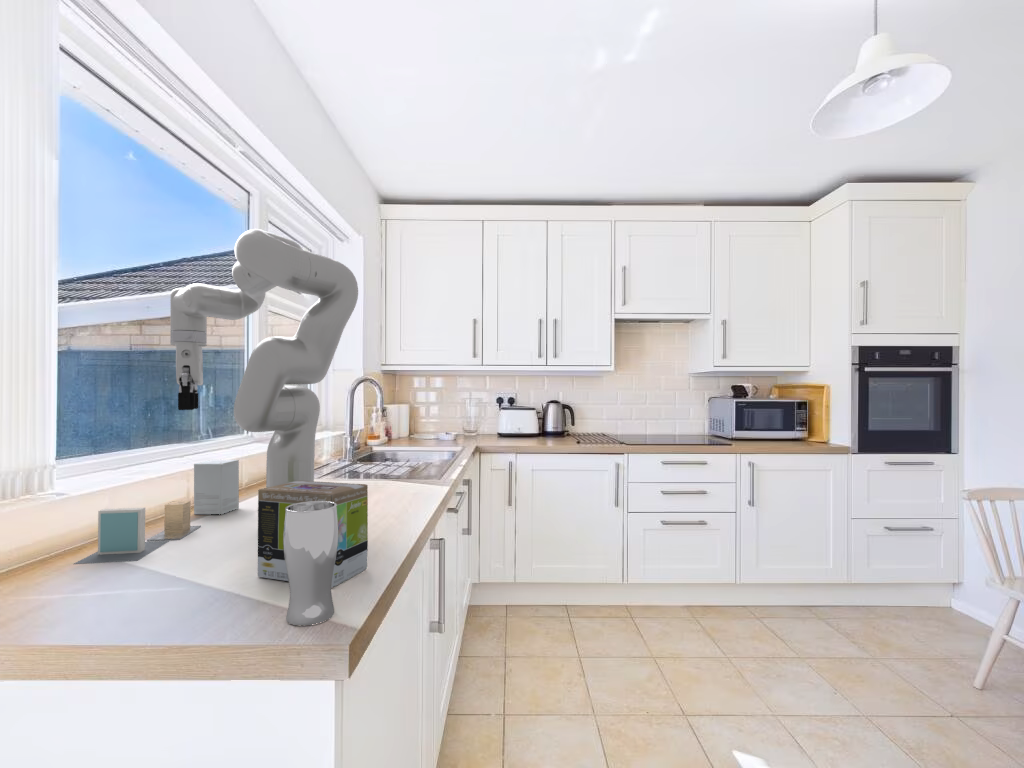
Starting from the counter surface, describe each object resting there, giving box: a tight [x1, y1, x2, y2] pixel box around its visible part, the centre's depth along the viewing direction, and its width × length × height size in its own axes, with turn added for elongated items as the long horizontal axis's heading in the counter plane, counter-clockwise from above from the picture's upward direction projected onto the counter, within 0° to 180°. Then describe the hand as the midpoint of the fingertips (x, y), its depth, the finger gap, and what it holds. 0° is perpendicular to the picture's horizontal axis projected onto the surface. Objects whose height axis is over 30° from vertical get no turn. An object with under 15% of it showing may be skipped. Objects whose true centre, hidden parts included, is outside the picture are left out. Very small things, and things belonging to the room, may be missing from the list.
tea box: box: [257, 480, 369, 589], centre depth 85 cm, size 15×10×15 cm, turn 71°
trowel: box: [146, 500, 202, 542], centre depth 107 cm, size 10×6×7 cm, turn 10°
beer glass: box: [283, 501, 338, 627], centre depth 69 cm, size 7×7×15 cm
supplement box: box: [193, 459, 240, 516], centre depth 128 cm, size 7×7×13 cm
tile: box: [97, 507, 146, 555], centre depth 95 cm, size 2×7×8 cm, turn 101°
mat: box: [73, 540, 170, 565], centre depth 95 cm, size 10×12×1 cm
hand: (188, 409), depth 124 cm, fingers open, 9 cm apart
